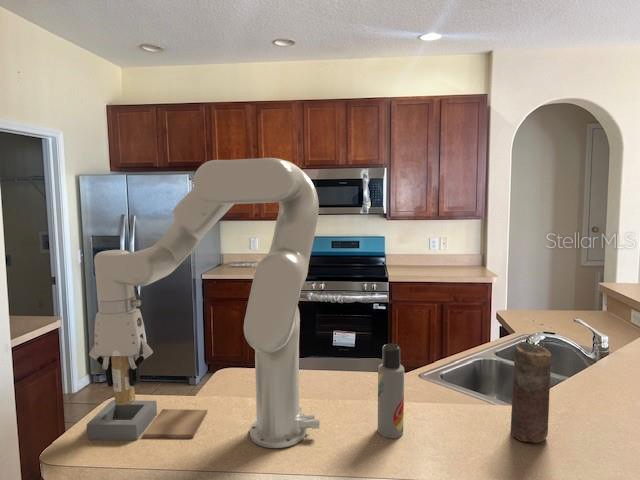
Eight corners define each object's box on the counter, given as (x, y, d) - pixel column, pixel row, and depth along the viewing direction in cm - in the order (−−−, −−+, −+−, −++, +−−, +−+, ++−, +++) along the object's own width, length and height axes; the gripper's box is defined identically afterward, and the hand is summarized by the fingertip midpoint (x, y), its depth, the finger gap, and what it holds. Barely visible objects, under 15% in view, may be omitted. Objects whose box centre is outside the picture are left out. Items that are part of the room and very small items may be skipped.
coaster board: (207, 412, 109) (207, 409, 109) (193, 438, 98) (192, 434, 98) (162, 412, 110) (162, 409, 109) (143, 437, 99) (143, 434, 99)
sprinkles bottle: (137, 402, 102) (133, 345, 100) (115, 408, 99) (111, 349, 98) (133, 394, 106) (129, 339, 104) (112, 400, 103) (107, 343, 102)
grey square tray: (157, 414, 109) (156, 400, 108) (137, 440, 98) (136, 424, 97) (112, 413, 109) (111, 400, 109) (87, 439, 98) (86, 424, 98)
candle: (518, 423, 103) (522, 339, 101) (552, 435, 98) (557, 347, 96) (504, 436, 98) (508, 348, 96) (539, 450, 93) (544, 357, 90)
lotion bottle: (408, 431, 100) (409, 345, 98) (394, 442, 96) (395, 352, 94) (387, 422, 104) (388, 339, 102) (372, 432, 100) (373, 345, 98)
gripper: (160, 300, 103) (166, 376, 105) (89, 302, 104) (96, 377, 106) (147, 309, 96) (153, 391, 98) (70, 310, 97) (78, 391, 99)
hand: (123, 383), depth 102 cm, fingers closed on sprinkles bottle, 4 cm apart
